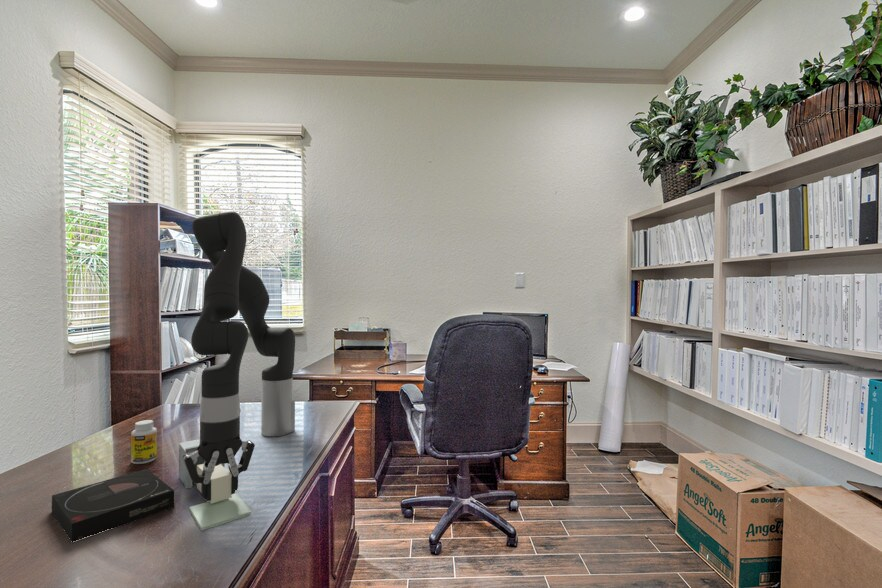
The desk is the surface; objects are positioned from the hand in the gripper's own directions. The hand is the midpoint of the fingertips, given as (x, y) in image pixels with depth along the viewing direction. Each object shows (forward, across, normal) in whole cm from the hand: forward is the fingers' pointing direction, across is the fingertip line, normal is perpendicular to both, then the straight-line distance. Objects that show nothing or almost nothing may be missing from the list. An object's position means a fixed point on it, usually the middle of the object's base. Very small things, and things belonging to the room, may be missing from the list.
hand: (219, 495), depth 90 cm
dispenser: (+2, 0, -17) cm, 17 cm away
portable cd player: (+3, +17, -12) cm, 21 cm away
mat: (+2, +1, +3) cm, 4 cm away
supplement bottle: (+2, +9, -38) cm, 39 cm away
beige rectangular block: (+1, 0, -4) cm, 4 cm away
